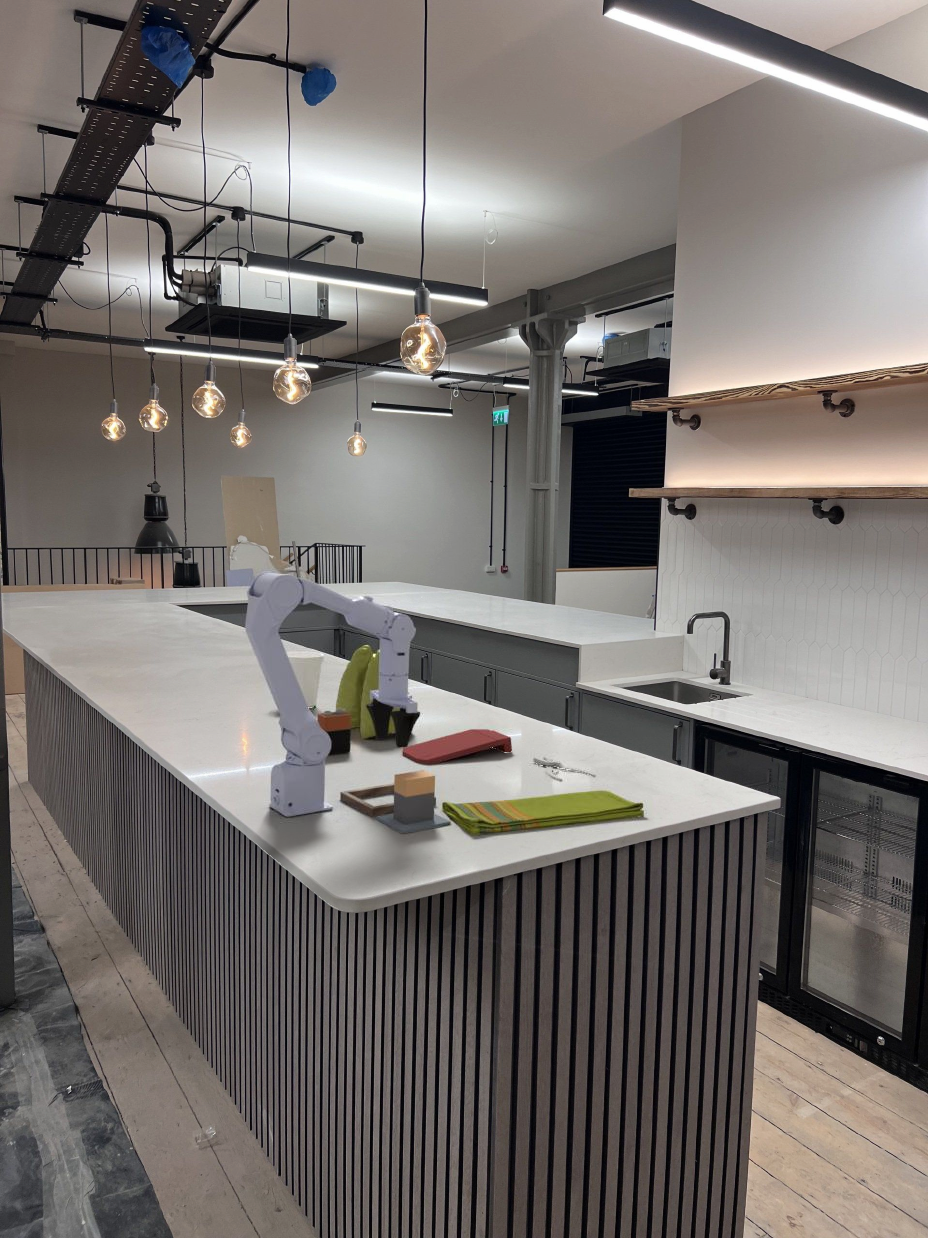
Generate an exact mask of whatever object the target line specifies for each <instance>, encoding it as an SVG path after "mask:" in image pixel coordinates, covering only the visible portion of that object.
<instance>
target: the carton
mask: <svg viewBox="0 0 928 1238" xmlns="http://www.w3.org/2000/svg"><path fill="white" fill-rule="evenodd" d="M492 747H493V748H492ZM490 748H492V749H494V748H496V749H498V750H497V751H499V750H500V751H499V752H501V751H503V752H511V751H512V752H513V747H512V738H511V736H508V735H505V734H503V733H500V732H498V731H496V730H490V729H487V728H486V729H483V728H482V729H481V728H480V729H479V728H477V729H476V728H475V729H474V728H473V729H467V730H464V731H460V732H457V733H452V734H450V735H445V736H442V737H438V738H434V739H430V740H427V741H423V742H419V743H415V744H412V745H408V746H407V747H402V750H401V752H402V753H401V754H402V756H404V757H406V758H408V759H410V760H411V761H414V762H415V763H418V764H424V765H429V766H430V765H433V764H434V765H436V764H439V763H441V762H446V761H450V760H451V759H452V760H453V759H455V758H459V757H463V756H466V755H470V754H473V753H477V752H479V751H484V750H488V749H490ZM496 749H495V750H496ZM503 752H502V753H503Z"/></svg>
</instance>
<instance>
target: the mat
mask: <svg viewBox="0 0 928 1238" xmlns="http://www.w3.org/2000/svg"><path fill="white" fill-rule="evenodd" d="M393 815H394V813H390V814H385V815H380V816H375V818H376V820H377V821H379V822H381V823H382V824H384V825H386V826H388V827H390V828H391V829H393V830H395V831H397V832H399V833H401V834H403V835H404V834H408V833H414V832H419V831H423V830H424V831H425V830H429V829H432V828H438V827H444V826H449V825H451V823H452V822H451V821H450V820H448V819H446V818H445V817H443V816H440V815H438V814H437V813H434V819H433V820H428V821H423V822H418V823H412V824H407V825H405V824H403V823H401V822H399V821H397V820H395V819H393Z"/></svg>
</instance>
